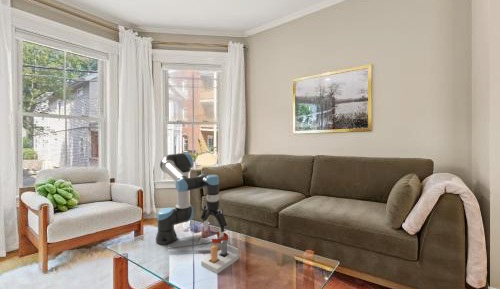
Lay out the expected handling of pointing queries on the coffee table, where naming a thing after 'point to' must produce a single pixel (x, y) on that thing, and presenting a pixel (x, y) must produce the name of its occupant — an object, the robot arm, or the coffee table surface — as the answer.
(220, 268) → the housing
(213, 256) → the orange pin
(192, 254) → the coffee table surface
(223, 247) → the grey pin
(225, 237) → the toy
